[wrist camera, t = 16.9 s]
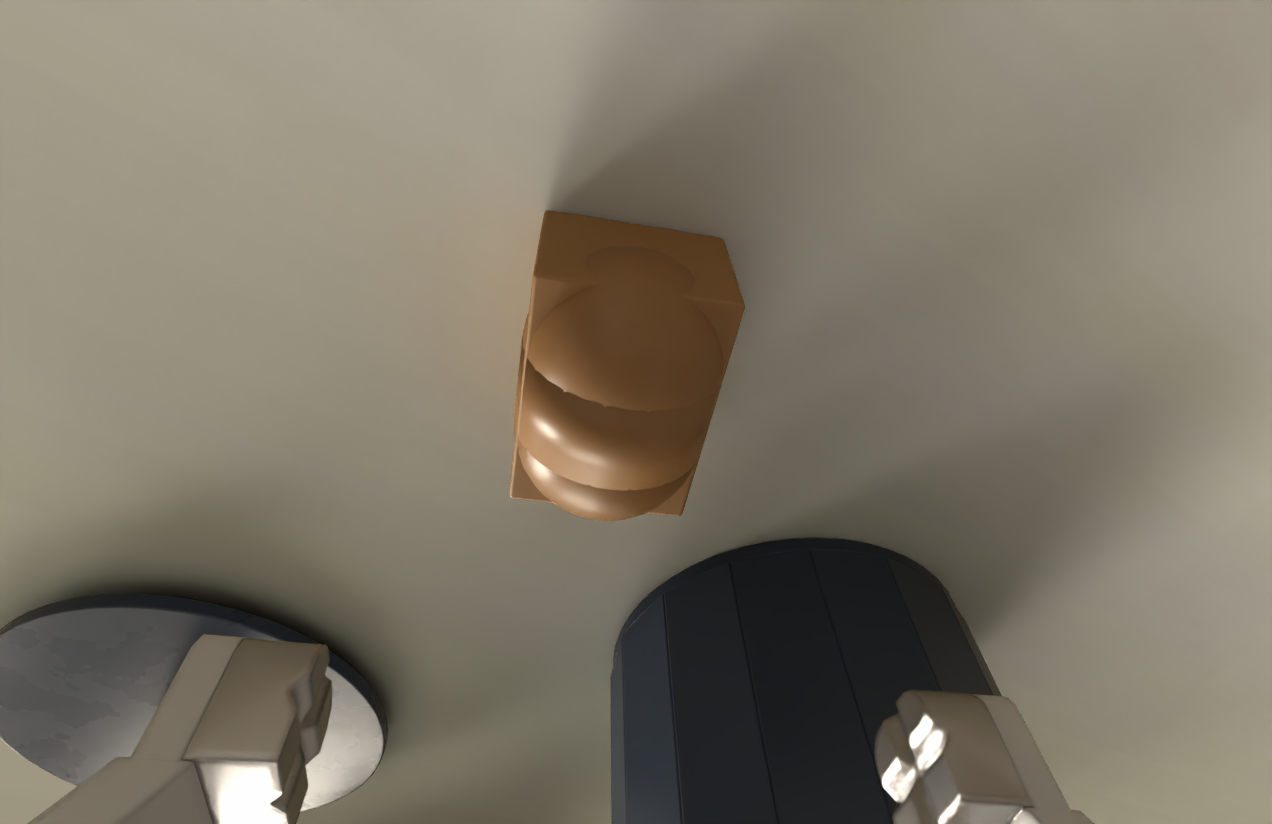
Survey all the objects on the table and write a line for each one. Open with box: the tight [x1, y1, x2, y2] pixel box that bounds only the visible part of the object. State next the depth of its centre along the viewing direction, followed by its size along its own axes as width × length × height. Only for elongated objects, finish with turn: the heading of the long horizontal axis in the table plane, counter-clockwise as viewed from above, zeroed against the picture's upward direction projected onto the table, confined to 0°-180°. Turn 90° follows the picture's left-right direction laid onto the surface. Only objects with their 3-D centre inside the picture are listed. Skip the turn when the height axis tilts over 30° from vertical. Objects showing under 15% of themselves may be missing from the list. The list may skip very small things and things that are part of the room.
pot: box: [611, 538, 1002, 824], centre depth 22 cm, size 12×17×10 cm
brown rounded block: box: [509, 210, 745, 521], centre depth 16 cm, size 6×4×4 cm
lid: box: [0, 594, 388, 812], centre depth 24 cm, size 13×13×5 cm
